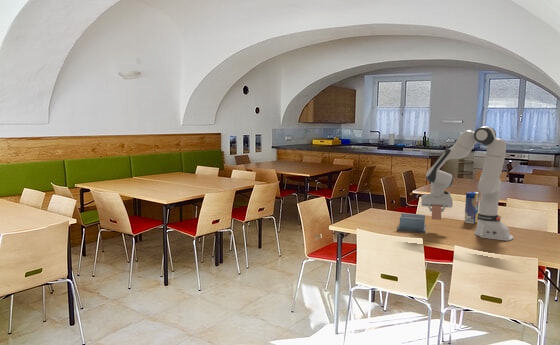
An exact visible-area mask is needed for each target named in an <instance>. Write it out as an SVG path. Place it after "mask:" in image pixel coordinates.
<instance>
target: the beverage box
mask: <svg viewBox="0 0 560 345" xmlns="http://www.w3.org/2000/svg"><path fill="white" fill-rule="evenodd" d="M479 202H480V191H479V192H478V191H468V192H466V193H465V206H464V207H465V208H464V221H463V222H464V223H466V224H467V223H468V224H476V223H478V220H477V218H478V213H479Z"/></svg>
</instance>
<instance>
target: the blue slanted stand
mask: <svg viewBox="0 0 560 345" xmlns="http://www.w3.org/2000/svg"><path fill="white" fill-rule="evenodd" d="M396 230H397V231H398V232H408V233H417V234H418V233H419V234H426V230H427V224H425V225H424V219H420V218H408V217H401V216H399V224H398V226H397V229H396Z"/></svg>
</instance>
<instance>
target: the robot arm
mask: <svg viewBox="0 0 560 345" xmlns="http://www.w3.org/2000/svg"><path fill="white" fill-rule="evenodd" d="M496 136H497V131H496V130H495V129H494V128H493V127H490V126H488V125H487V126H480V127H477V128H476V129H475V131H473V130H470V129H467V130H464V131H463V132H462V133H461V134H460V135H459V136H458V137H457V140H456V141H455V143H454V144H453V145H452V146H451V147H449V148H446V149H444V151H443V152H442V153H441V154H440V155H439V157H438V158H437V160H436V161H435V162H434V163H433V165H432V166H431V167H430V168H429V169H428V170H427V171H426V173H425V178H426V180H427V182H429V183H430V192H429V194H427V193H426V194H422V195H421V197H420V199H421V201H420V203H421V206H422V207H427V208H428V209H429V212H432V205H441V206H442V207H441V213H444V212H445V211H444V210H445V209H446V208H451V209H452V207H453V197H452V196H451V195H452V194H451V192H450V191H446V190H445V189H448V188H450V187H451V186H452V185H453V183H454V176H453V174H451V173H448V172H446V171H444V170H441V168H442V166H443V165H444V164H445V163H446V162H447V161H448V160H453V159H454V160H455V159H456V160H457V159H458V160H459V159H465V158H467V157H468V156H469V155H470V153H471V152H472V150H473V148H474V146H475V145H476V144H477V143H479V144H482V145H484V146H486V153H485V159H484V164H483V168H482V171H481V174H480V176H479V180H478V181H479V182H478V183H477V188H478V191H479V193H481V196H480V198H479V204H478V218H477V225H476V227H475V228H476V229H475V231H474V235H475V236H478V237H480V238H482V239H491V240H496V241H497V240H498V241H512V240H513V239H514V235H512V234H510V229H509V227H508V226H507V225H506V224H504V222H502V221H501V219H502V216H501V215H498V211H499V201H500V197H501V196H500V195H501V189H502V185H503V183H502V182H503V181H501V179H500V177H501V175H502V172H503V170H504V164H505V163H504V162H505V159H506V152H507V144H506V143H507V142H506V141H505V140H504V139H502V138H499V137H496Z"/></svg>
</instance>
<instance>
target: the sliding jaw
mask: <svg viewBox="0 0 560 345" xmlns="http://www.w3.org/2000/svg"><path fill="white" fill-rule="evenodd" d="M400 217H408V218H420V219H424V225H426V224H425V222H426V219H425V218H426V215H425V214H415V213H406V212H405V213H404V212H403V213H401V215H400Z"/></svg>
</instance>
